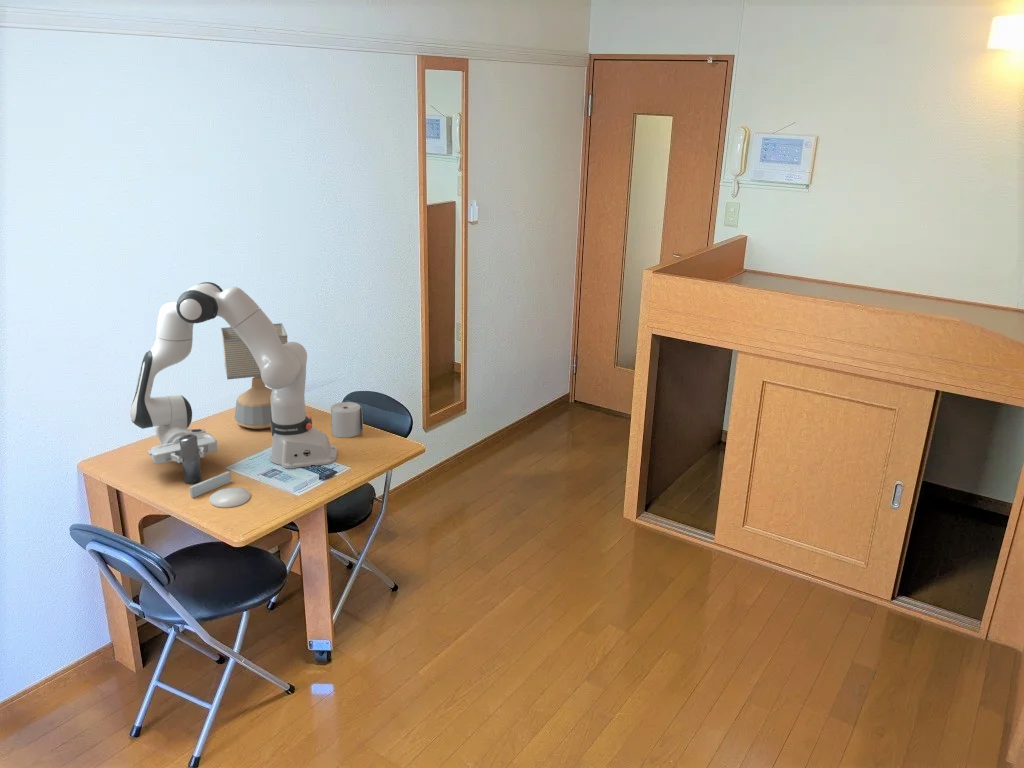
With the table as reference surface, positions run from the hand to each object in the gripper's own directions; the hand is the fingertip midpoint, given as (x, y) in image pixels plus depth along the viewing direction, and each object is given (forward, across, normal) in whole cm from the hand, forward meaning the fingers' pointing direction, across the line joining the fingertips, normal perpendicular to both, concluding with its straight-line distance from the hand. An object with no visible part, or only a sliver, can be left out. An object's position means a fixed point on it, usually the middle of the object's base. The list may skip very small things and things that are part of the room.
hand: (191, 458), depth 265 cm
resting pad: (+17, +6, +8) cm, 20 cm away
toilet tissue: (-10, +59, +9) cm, 60 cm away
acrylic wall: (+8, +3, +8) cm, 12 cm away
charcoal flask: (-1, 0, +8) cm, 8 cm away
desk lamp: (-35, +35, +8) cm, 50 cm away
